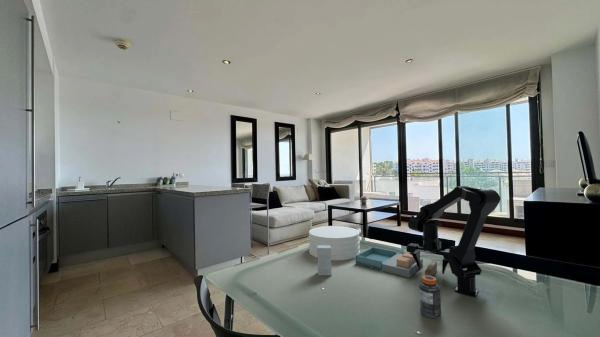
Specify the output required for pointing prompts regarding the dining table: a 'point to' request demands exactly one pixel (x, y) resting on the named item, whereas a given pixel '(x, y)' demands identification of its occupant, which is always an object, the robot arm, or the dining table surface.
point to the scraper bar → (431, 268)
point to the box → (374, 257)
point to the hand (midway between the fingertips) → (431, 271)
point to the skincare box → (324, 260)
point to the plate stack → (335, 241)
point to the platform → (400, 267)
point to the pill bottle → (430, 297)
